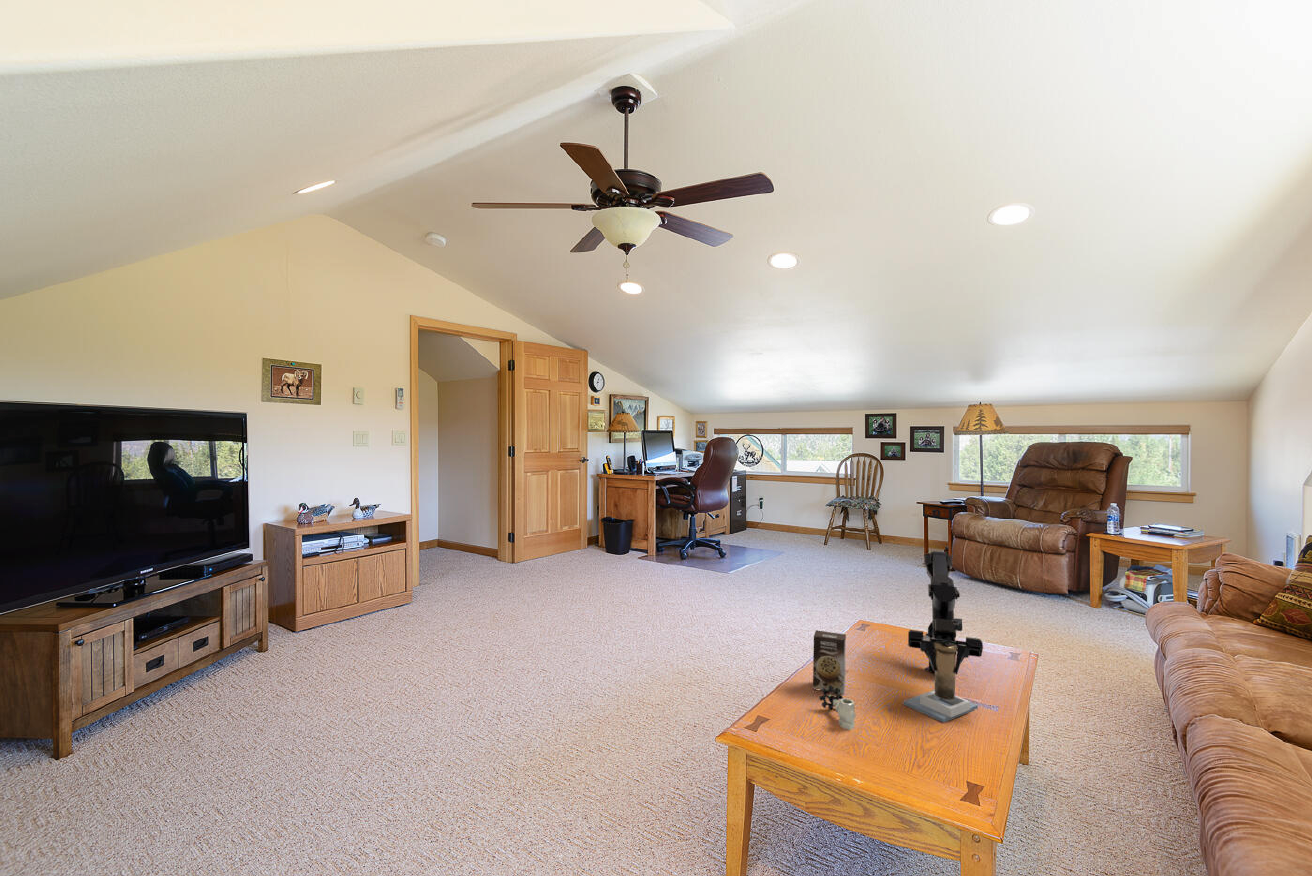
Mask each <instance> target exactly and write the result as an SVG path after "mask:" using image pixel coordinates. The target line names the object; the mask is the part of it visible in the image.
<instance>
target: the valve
mask: <svg viewBox="0 0 1312 876" xmlns="http://www.w3.org/2000/svg"><path fill="white" fill-rule="evenodd" d="M828 688H829V689H828V690H826V689H824V688H823V689H822V691H821V692H822V694H823V695H819V696H818V699H819V700H820V701H821V707H822V708H825V709H826V708H827V706H828V709H829V710H830V711H834V710H835V711H836V712H837V714H838V717H839V718H838V725H839V726H840V727H841V728H842V729H843V730H844V729H845V730H848V731H851V730H853V729H855V722H856V721H855V719H856V712H855V708H856V707H855V706H856V705H855V704H856V703H855V702H854V700H852V699H851V698H847V697H846V698H845V697H843V696H842V694H838V692H840V689H839V688H835V690H833V689H834V688H833V686H831V685H829V687H828ZM831 692H834V693H833V694H835V695H833V694H832V693H831ZM830 693H831V694H830ZM826 698H827V700H828V702H827V700H826ZM822 701H823V702H822Z"/></svg>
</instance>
